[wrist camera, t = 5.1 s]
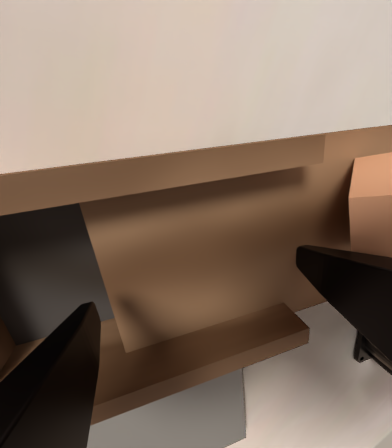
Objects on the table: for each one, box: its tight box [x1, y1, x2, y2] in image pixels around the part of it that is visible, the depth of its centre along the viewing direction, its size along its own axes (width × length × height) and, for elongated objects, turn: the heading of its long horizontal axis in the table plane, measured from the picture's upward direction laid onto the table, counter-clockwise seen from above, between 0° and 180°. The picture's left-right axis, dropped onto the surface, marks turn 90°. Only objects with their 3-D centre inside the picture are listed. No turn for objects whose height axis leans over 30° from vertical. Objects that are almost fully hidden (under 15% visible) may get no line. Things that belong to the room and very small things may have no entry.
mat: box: [87, 368, 246, 448], centre depth 16 cm, size 12×12×1 cm
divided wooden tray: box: [0, 125, 392, 426], centre depth 11 cm, size 10×25×5 cm, turn 97°
